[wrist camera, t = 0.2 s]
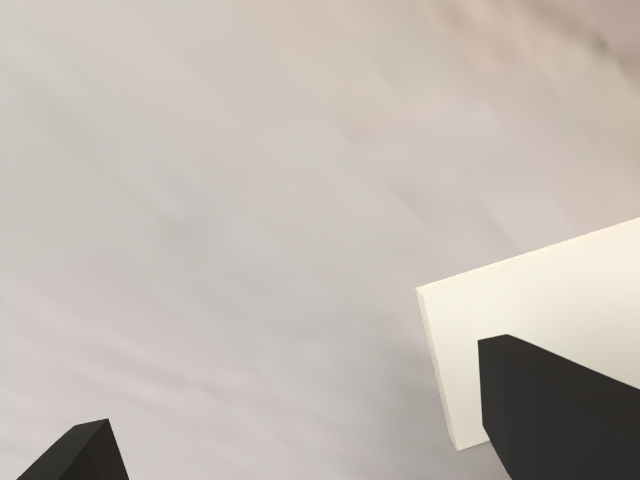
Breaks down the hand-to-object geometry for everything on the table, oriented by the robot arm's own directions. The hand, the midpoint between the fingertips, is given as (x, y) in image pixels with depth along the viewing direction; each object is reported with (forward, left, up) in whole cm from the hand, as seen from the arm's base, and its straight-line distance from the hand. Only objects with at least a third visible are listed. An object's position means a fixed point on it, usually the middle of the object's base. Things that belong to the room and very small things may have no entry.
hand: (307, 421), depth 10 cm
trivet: (-7, -11, -10) cm, 17 cm away
